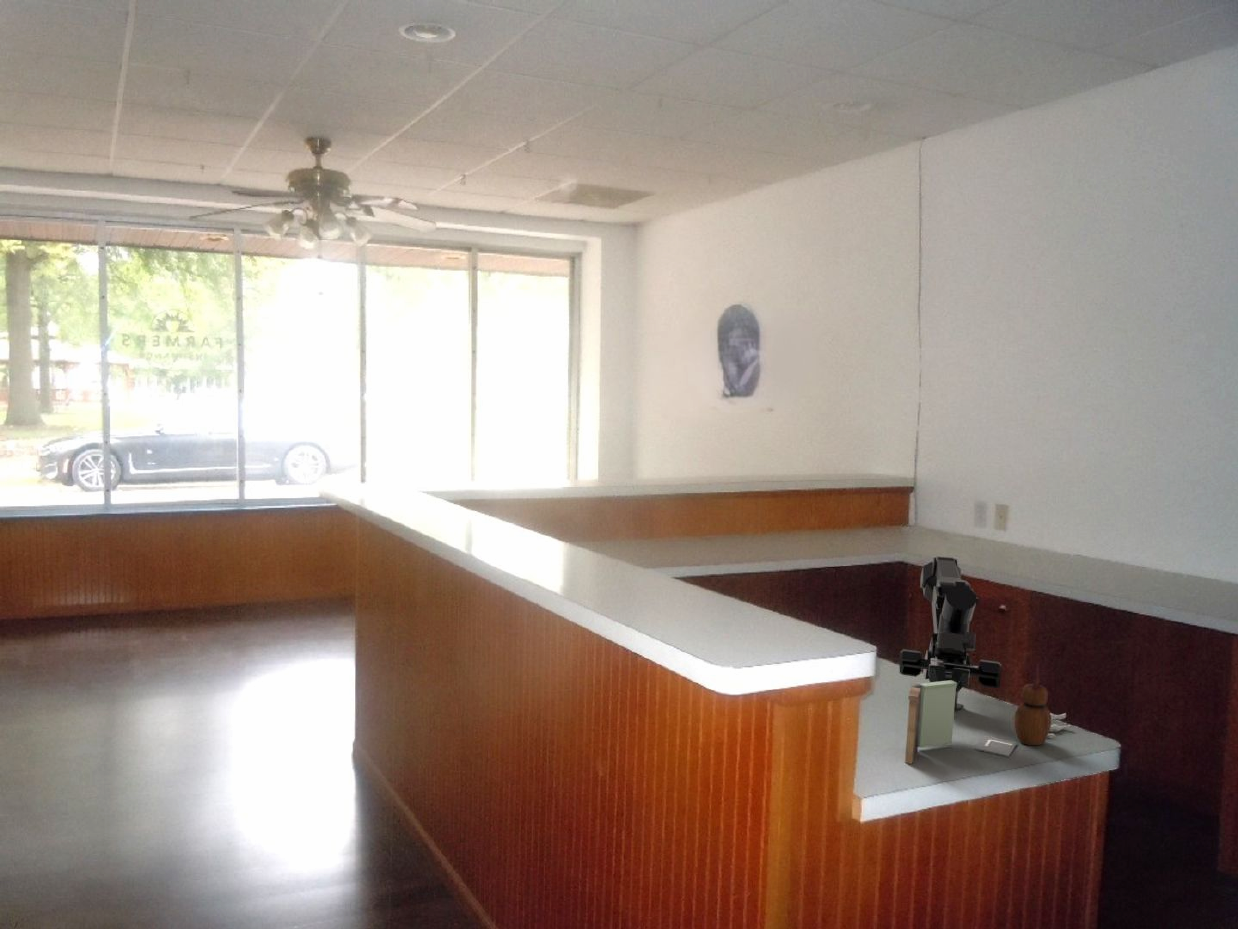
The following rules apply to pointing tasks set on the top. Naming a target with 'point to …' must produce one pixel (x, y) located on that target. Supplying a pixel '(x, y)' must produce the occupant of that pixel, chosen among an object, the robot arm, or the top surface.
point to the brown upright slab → (913, 722)
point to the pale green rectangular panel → (936, 713)
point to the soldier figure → (1055, 726)
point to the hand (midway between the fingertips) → (945, 707)
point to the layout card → (996, 746)
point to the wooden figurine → (1033, 714)
